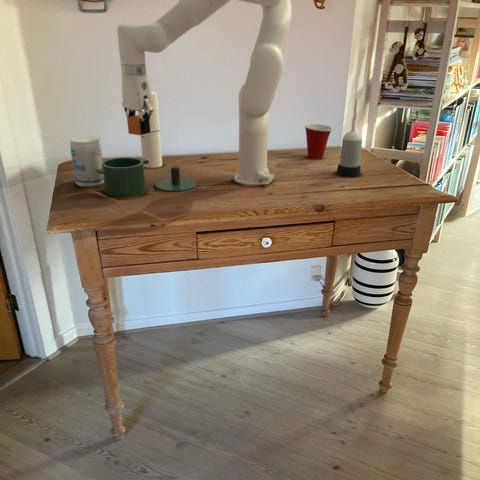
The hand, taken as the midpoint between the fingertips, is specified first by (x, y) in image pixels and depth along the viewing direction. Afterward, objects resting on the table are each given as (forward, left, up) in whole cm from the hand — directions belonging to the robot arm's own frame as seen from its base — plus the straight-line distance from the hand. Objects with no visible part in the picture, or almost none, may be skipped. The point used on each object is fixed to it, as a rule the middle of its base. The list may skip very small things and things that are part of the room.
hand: (139, 131), depth 169 cm
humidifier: (-44, -58, -17) cm, 74 cm away
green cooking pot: (-6, +11, -16) cm, 21 cm away
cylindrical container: (+14, -15, -17) cm, 27 cm away
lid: (-13, -4, -16) cm, 21 cm away
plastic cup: (-22, -68, -17) cm, 73 cm away
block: (0, 0, -1) cm, 1 cm away
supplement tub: (+10, +14, -17) cm, 24 cm away
